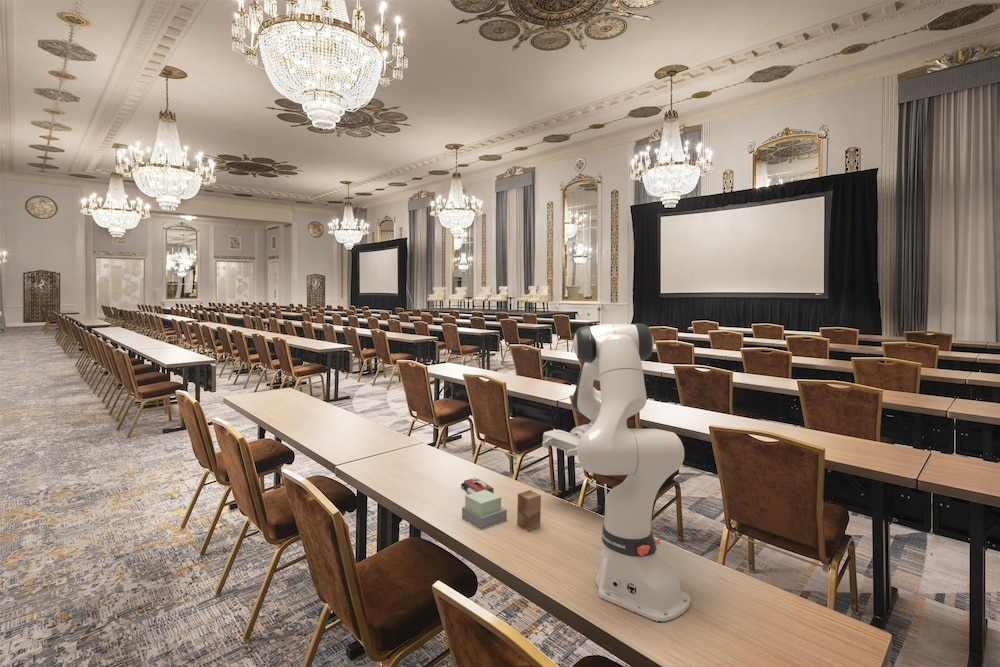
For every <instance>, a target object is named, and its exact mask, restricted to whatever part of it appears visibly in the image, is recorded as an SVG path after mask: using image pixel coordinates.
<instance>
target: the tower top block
mask: <svg viewBox="0 0 1000 667" xmlns="http://www.w3.org/2000/svg"><path fill="white" fill-rule="evenodd" d="M464 500H465V502H464V507H465V508H466V509H468V510H470V511H472V512H474V513H476V514H477V515H479V516H484V515H487V514H490V513H493V512H496V511H499V510H501V507H502V496H500V495H497V494H495V493H494V492H493V493H491V492H489V491H487V490H482V491H479V492H475V493H472V494H469V495H467V494H466V495H465V499H464Z"/></svg>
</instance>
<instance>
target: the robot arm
mask: <svg viewBox="0 0 1000 667" xmlns="http://www.w3.org/2000/svg"><path fill="white" fill-rule="evenodd" d="M654 345H655V341H654V336H653V334H652V330H651V329H650V327H648V325H646V324H644V323H636V322H635V323H634V324H633V323H603V324H602V323H601V324H597V325H596V324H595V325H591V326H590V325H585V326H581V327H579V328H577V330H576V331H575V334H574V337H573V341H572V348H573V352H574V353H575V355H576V359H578V360H579V361H580V362H581V366H580V368H579V371H578V377H577V382H576V386H575V390H574V392H573V395H572V397H571V404H572V408H573V409H574V410H575V411H576V412H578V413H580V414H581V415H582V416H583V415H584V417H586V418H588V419H589V420H590V422H589V423H588V424H587V423H586V424H581V425H579V426H575V427H573V428H572V429H571V430H570V431H569V432H567V431H566V430H562V429H553V430H552V429H551V430H548V431H544V432H543V435H542V443H541V444H542V446H541V447H542V448H545V449H548V448H550V446H551V447H554V448H556V449H559V450H562V451H564V456H566V457H568V458H569V457H572V456H575V457H576V456H577V460H578V462H579V464H580V465H581V467H582V468H583V470H584V471H585V472H587V473H592V474H595V475H601V476H602V475H603V476H626V478H625V479H624V480H623V481H622V482H621V483H620V484H618V485H616V486H614V487H613V488H611V489H610V490H609V492H608V493H607V495H606V497H605V501H604V523H603V524H602V530H601V531H602V533H601V541H602V549H601V550H602V552H601V559H600V563H599V567H598V571H597V574H596V576H595V584H596V586H597V588H598V592H597V593H598V594H597V595H598V597H599V598H600V599H603V600H605V601H607V602H609V603H612V604H614V605H617V606H618V607H619V606H620V607H622V608H624V609H626V610H628V611H631V612H633V613H635V612H636V613H635V614H638V615H640V616H642V617H644V618H646V619H650V620H651V621H654V620H655V622H658V621H661V622H667V621H670V620H674V619H675V618H676V619H677V618H678V617H680V616H681V615H682V614H684V613H685V612H686V611H687V610H688V609H689V607H690V605H691V596H690V595H689V594H688V593H686V592H685V591H684V590H682V589H681V583H680V582H681V580H680V576H679V574H678V572H677V571H676V570H675V569H674V568H673V566H672V565H671V564H670V563H669V562H668V561H667V559H666V558H665V557H664V556H663V555H662V553H661V552H660V551H659V550H658V548H657V546H658V545H660V544H661V538H658V539H655V537H654V533H653V531H652V516H653V515H652V514H653V509H654V508H653V506H654V502H655V498H656V496H657V494H658V492H659V490H660V488H661V487H662V485H663V484H664V483H665V482H666V481H667V479H668V478H670V476H672V475H673V474H674V473H676V472H678V470H679V469H680V468H681V467H682V465H683V462H684V460H685V447H684V445H683V442H682V440H681V438H680V437H679V436H678V435H677V434H676V433H675V432H672V431H668V430H665V429H664V430H663V429H660V428H658V429H657V428H629V427H628V418H630V417H632V416H635V415H636V414H638V413H639V412H641V411H642V410H644V408H645V406H646V404H647V401H648V400H647V398H648V397H647V391H646V385H645V383H646V382H645V376H644V370H643V365H642V361H645V360H648V359H649V358H650V357H651V355H652V354H653V349H654ZM595 381H597V382H599V384H600V386H599V387H600V391H598V389H596V387H594V382H595Z"/></svg>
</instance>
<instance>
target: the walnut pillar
mask: <svg viewBox="0 0 1000 667" xmlns="http://www.w3.org/2000/svg"><path fill="white" fill-rule="evenodd" d="M541 504H542V495H541V494H539V493H537V492H534V491H533V490H532V489H531V490H530V489H529V490H526V491H523V492H519V493H517V508H516V509H517V515H516V518H517V519H516V522H517V523H516V526H517V525H518V527H519V526H520V527H519V528H521V527H522V528H521V529H523V528H524V529H523V530H525V529H526V530H527V531H526V530H525V531H526V532H530V530H531V531H533V530H535V528H536V529H538V527H539V528H540V527H541V516H542V515H541V513H542V512H541V508H542V506H541ZM532 529H533V530H532Z"/></svg>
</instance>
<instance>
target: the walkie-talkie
mask: <svg viewBox="0 0 1000 667" xmlns="http://www.w3.org/2000/svg"><path fill="white" fill-rule="evenodd" d="M460 485H461V487H462V488H463V490H465V491H466V492H467V494H466V495H469V494H472V493H475V492H479V491H482V490H487V491H489V492H491V493H493V494H494V488H493V487H492V486H490V485H489V484H488V483H487V482H484V480H481V479H478V478H475V477H473V478H469V479H465V480H464V481H463V482H461V483H460Z"/></svg>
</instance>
